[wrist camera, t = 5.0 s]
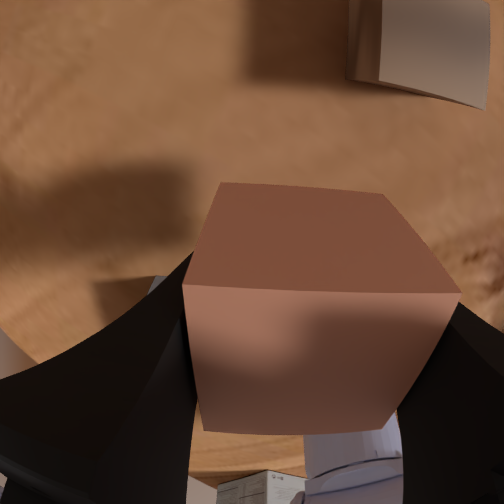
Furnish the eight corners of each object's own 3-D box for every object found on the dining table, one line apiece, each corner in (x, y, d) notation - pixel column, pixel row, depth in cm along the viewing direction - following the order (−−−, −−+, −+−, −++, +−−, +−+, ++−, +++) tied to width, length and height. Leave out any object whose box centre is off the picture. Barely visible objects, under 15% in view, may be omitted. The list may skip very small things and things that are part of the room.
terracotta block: (352, 316, 12) (381, 429, 7) (222, 312, 12) (203, 430, 7) (383, 194, 9) (462, 293, 5) (220, 182, 9) (182, 284, 5)
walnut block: (431, 97, 13) (485, 110, 9) (344, 79, 13) (378, 80, 9) (435, 15, 11) (489, 4, 7) (348, -9, 11) (381, -39, 7)
